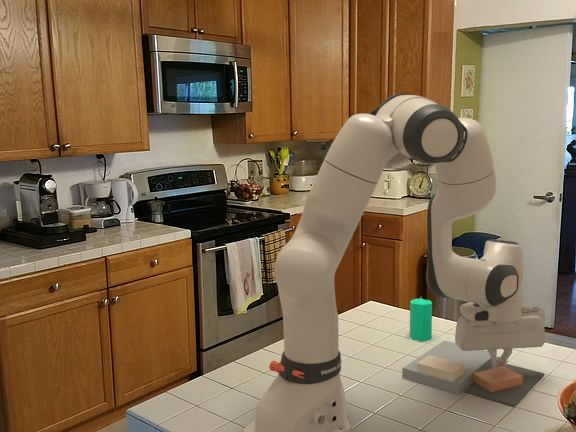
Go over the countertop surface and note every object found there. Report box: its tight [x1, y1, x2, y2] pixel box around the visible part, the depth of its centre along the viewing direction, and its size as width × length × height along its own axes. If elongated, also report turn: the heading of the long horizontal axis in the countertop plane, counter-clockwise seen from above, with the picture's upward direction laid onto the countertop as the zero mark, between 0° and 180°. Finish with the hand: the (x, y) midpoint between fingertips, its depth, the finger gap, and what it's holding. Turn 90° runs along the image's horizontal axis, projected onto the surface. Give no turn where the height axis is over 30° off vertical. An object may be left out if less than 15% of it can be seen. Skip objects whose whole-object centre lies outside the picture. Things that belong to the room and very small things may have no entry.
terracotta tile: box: [473, 366, 523, 392], centre depth 131 cm, size 9×6×2 cm, turn 112°
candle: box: [409, 297, 433, 342], centre depth 160 cm, size 6×6×12 cm
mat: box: [463, 363, 545, 408], centre depth 131 cm, size 20×11×1 cm, turn 139°
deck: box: [401, 340, 498, 396], centre depth 139 cm, size 22×14×2 cm, turn 139°
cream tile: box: [417, 355, 465, 381], centre depth 132 cm, size 9×6×2 cm, turn 49°
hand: (499, 365), depth 133 cm, fingers closed
